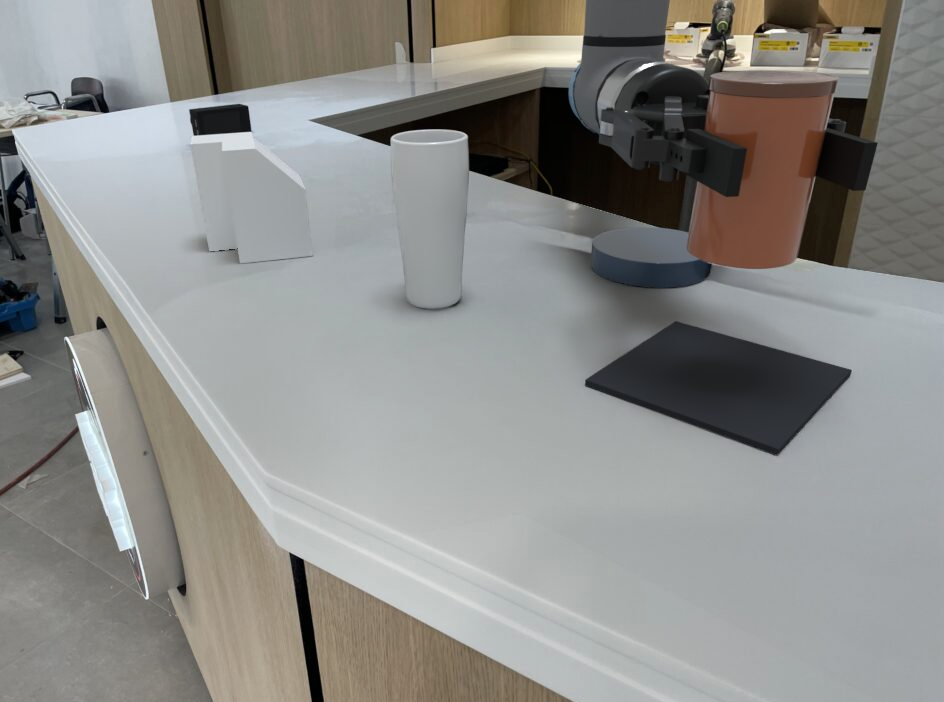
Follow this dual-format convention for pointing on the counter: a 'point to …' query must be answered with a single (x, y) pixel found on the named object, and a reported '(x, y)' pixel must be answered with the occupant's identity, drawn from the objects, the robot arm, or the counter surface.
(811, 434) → the counter surface
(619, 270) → the dish
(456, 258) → the drinking glass
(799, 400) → the mat
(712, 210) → the canister
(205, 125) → the digital camera
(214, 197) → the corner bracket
